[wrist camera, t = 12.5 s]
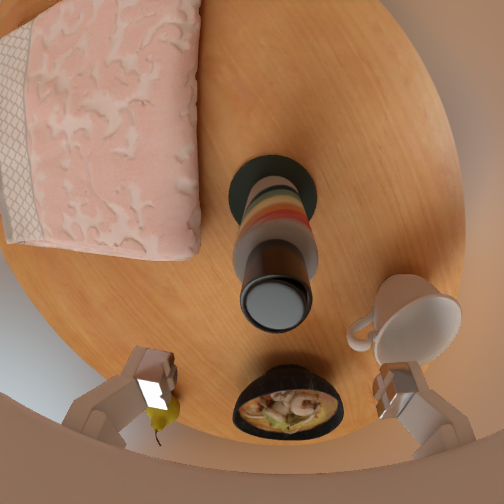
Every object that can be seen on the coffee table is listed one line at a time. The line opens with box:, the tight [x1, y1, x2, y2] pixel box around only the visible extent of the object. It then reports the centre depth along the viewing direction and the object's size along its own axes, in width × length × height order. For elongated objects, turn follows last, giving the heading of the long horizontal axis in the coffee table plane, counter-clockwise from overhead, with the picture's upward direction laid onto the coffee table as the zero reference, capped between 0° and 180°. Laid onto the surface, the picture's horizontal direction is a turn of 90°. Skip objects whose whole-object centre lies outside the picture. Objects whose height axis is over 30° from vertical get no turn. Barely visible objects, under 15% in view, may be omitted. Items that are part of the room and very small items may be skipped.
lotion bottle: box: [233, 176, 318, 334], centre depth 23 cm, size 6×6×20 cm
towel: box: [0, 0, 201, 261], centre depth 26 cm, size 36×34×6 cm
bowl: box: [233, 365, 344, 440], centre depth 41 cm, size 17×17×10 cm
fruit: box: [145, 394, 180, 446], centre depth 46 cm, size 7×7×12 cm
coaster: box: [229, 155, 317, 225], centre depth 32 cm, size 10×10×1 cm
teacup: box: [347, 274, 462, 366], centre depth 33 cm, size 12×15×10 cm
